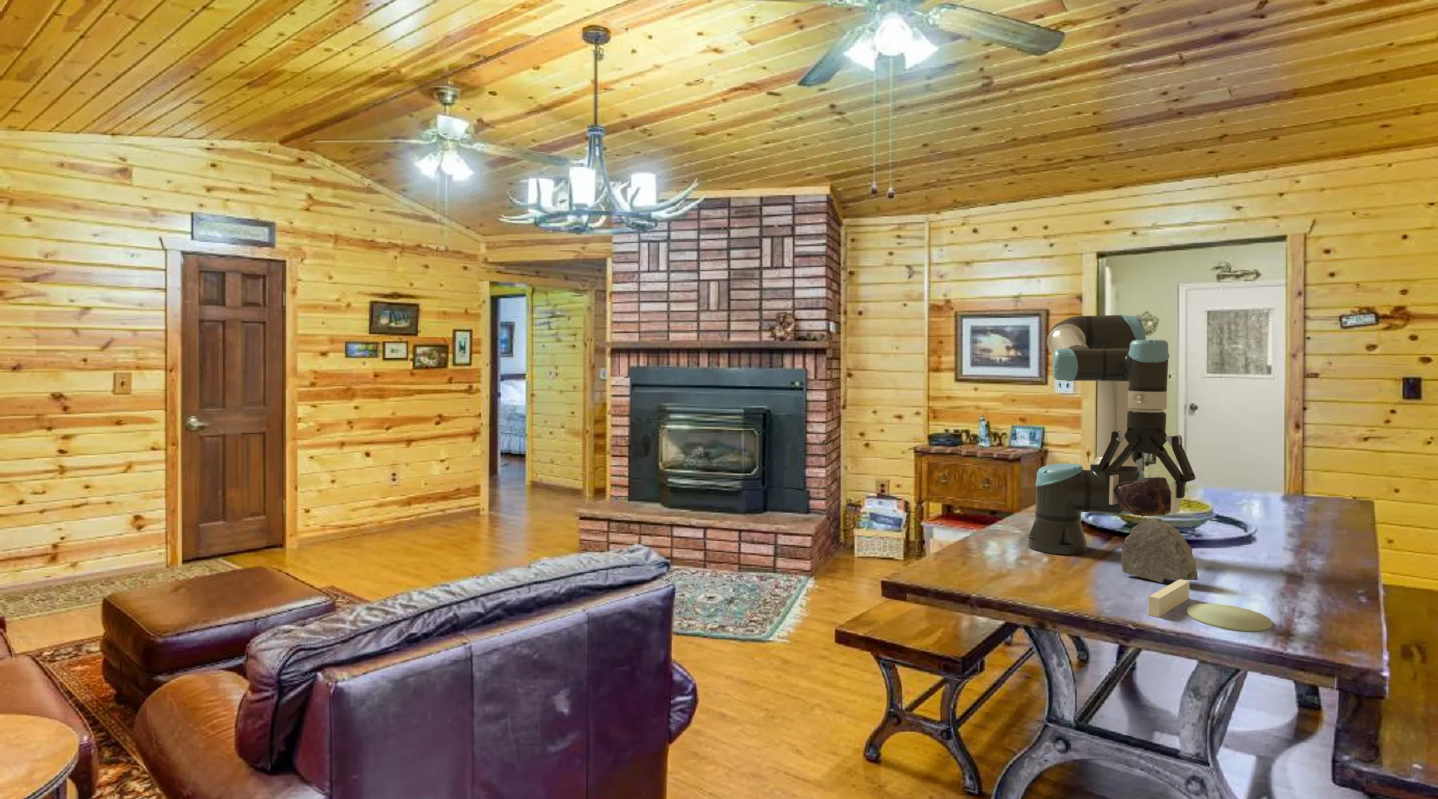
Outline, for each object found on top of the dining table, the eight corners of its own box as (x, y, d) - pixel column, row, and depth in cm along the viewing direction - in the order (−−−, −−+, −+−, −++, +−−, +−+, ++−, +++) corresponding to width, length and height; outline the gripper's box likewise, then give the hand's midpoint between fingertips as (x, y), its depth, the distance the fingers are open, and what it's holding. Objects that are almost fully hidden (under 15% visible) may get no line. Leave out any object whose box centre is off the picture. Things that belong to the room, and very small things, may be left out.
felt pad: (1175, 617, 167) (1176, 614, 167) (1200, 601, 177) (1200, 599, 177) (1260, 637, 156) (1260, 634, 156) (1281, 619, 166) (1281, 616, 166)
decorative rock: (1117, 575, 197) (1119, 515, 196) (1127, 570, 202) (1129, 511, 201) (1190, 590, 185) (1193, 526, 184) (1200, 584, 190) (1202, 521, 189)
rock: (1130, 513, 184) (1108, 518, 178) (1125, 476, 184) (1104, 479, 178) (1184, 514, 175) (1164, 519, 168) (1179, 474, 175) (1159, 478, 169)
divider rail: (1148, 614, 169) (1149, 596, 169) (1179, 596, 181) (1179, 579, 181) (1158, 617, 168) (1159, 598, 167) (1188, 598, 180) (1189, 581, 179)
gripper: (1083, 408, 182) (1080, 502, 183) (1202, 415, 163) (1198, 519, 165) (1098, 406, 187) (1095, 498, 188) (1215, 413, 168) (1211, 514, 170)
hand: (1143, 508), depth 176 cm, fingers closed on rock, 12 cm apart
